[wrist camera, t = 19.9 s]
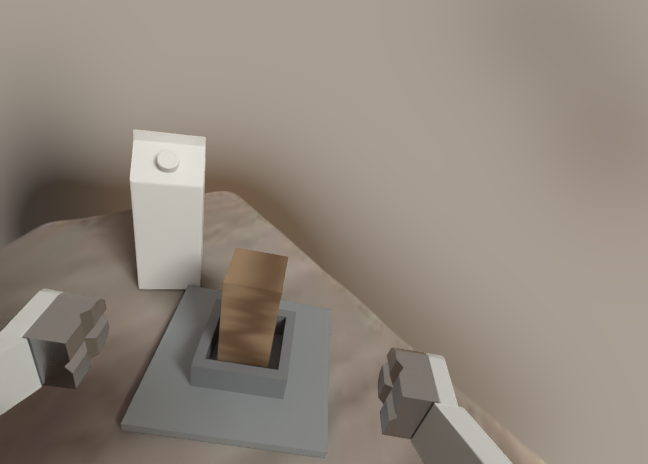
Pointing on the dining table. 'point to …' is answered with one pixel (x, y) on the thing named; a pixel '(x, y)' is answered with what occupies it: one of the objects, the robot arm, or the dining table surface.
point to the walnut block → (250, 307)
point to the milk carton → (168, 208)
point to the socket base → (237, 382)
